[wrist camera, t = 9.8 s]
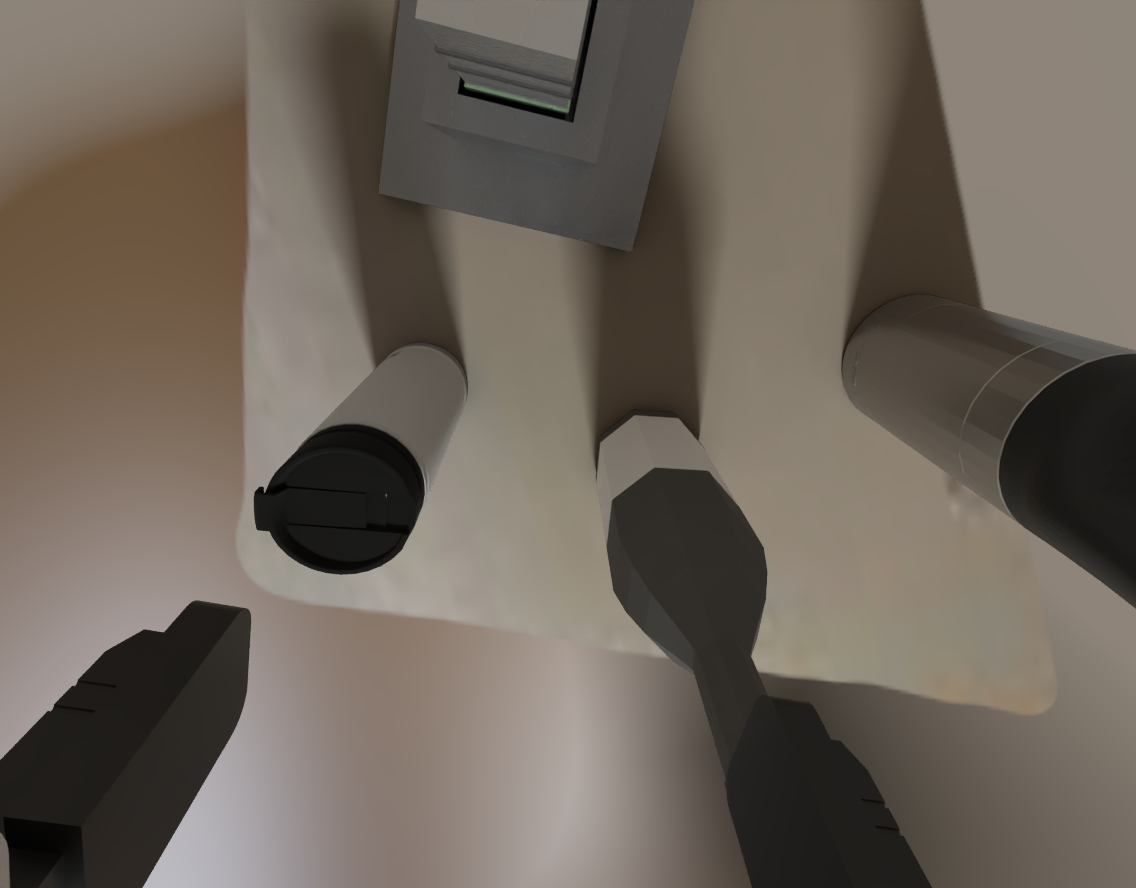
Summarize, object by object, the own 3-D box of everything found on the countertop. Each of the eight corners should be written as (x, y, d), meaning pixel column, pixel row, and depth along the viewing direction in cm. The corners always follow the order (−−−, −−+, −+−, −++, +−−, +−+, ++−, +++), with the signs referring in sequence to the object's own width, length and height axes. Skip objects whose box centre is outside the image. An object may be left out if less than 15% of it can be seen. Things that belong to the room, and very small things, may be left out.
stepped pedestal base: (699, -35, 37) (773, -148, 25) (629, 250, 43) (661, 274, 30) (419, -114, 35) (349, -277, 23) (384, 193, 41) (313, 193, 29)
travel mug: (374, 336, 44) (246, 441, 26) (471, 347, 45) (415, 458, 26) (372, 422, 46) (254, 576, 28) (465, 432, 47) (409, 590, 28)
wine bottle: (686, 391, 46) (895, 696, 18) (712, 488, 49) (927, 882, 21) (578, 425, 47) (620, 768, 19) (610, 519, 50) (687, 938, 22)
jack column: (584, 28, 33) (621, -142, 16) (565, 126, 34) (579, 65, 18) (495, 4, 32) (436, -197, 16) (479, 105, 34) (411, 21, 17)
